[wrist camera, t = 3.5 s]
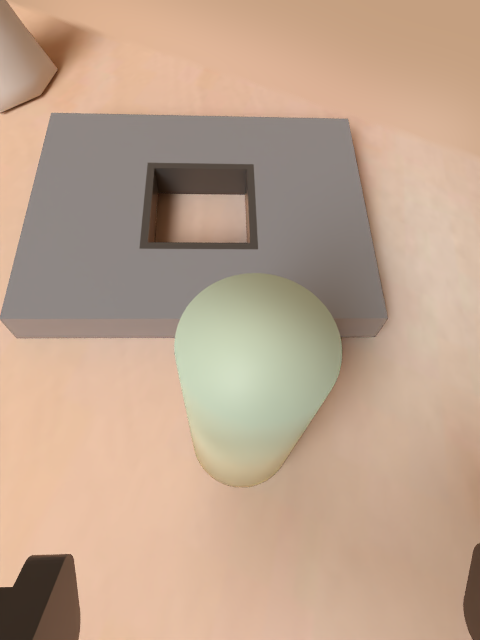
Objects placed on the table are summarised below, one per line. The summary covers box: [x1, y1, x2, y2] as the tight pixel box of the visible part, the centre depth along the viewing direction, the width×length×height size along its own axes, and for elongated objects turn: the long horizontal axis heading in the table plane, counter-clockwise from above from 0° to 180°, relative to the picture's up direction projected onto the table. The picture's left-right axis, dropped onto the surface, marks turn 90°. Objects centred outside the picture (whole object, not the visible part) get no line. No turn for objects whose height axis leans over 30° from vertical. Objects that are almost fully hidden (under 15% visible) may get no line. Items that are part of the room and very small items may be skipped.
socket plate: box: [0, 113, 388, 338], centre depth 25 cm, size 18×14×2 cm
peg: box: [174, 273, 342, 487], centre depth 16 cm, size 4×4×10 cm
